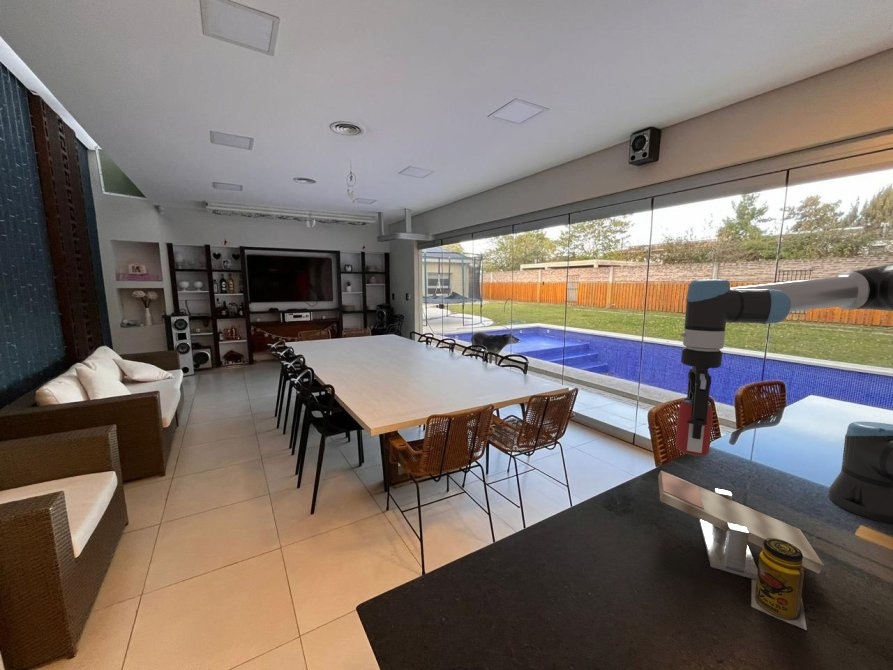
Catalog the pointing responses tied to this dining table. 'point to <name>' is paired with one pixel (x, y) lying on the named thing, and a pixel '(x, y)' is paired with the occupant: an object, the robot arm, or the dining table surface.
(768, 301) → the robot arm
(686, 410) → the beer can
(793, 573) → the condiment
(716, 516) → the balance beam
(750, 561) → the pivot stand
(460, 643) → the dining table surface
